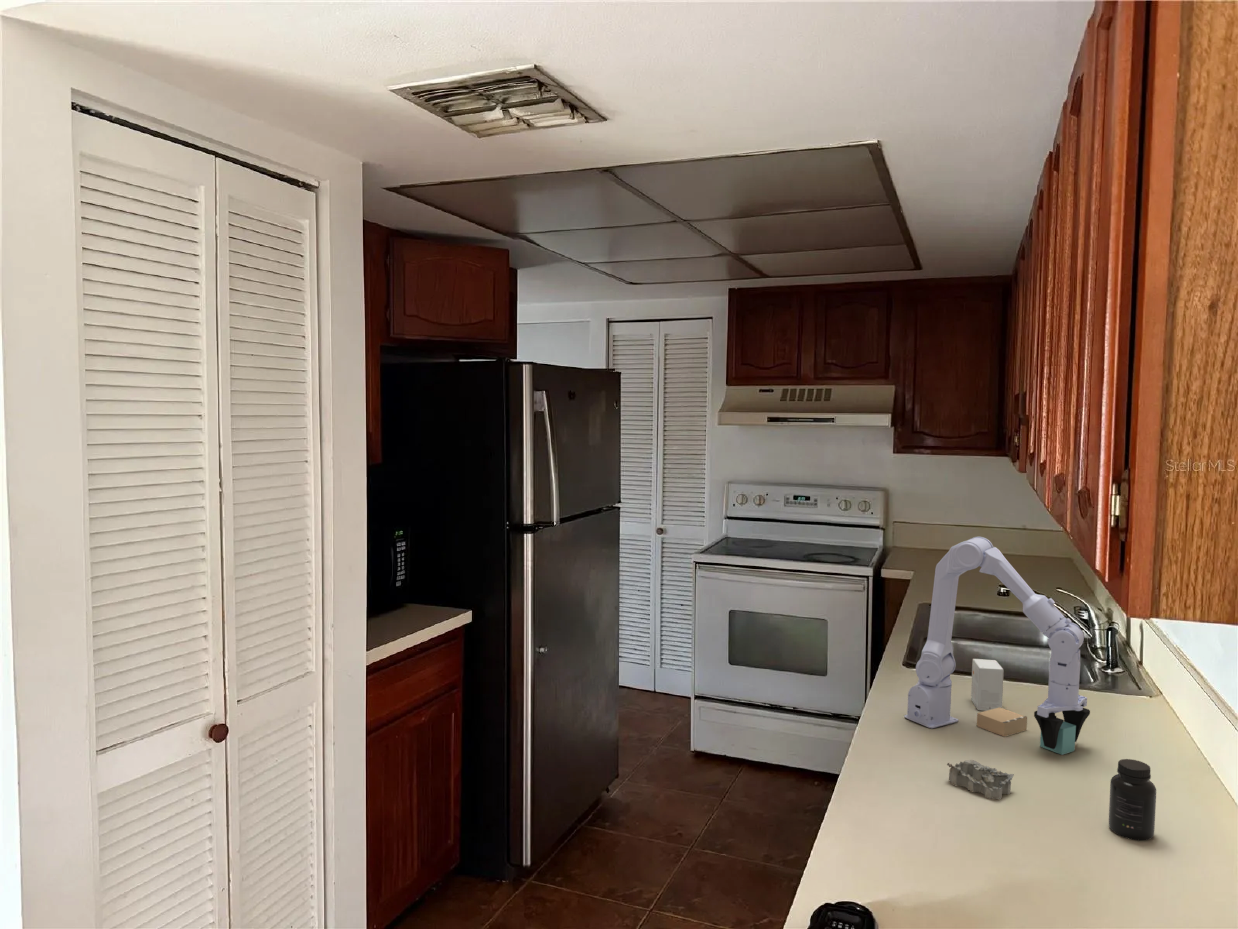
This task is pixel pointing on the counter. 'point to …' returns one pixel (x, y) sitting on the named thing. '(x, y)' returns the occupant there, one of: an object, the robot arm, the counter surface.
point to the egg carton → (980, 778)
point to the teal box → (1063, 739)
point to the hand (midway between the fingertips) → (1060, 743)
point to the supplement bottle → (1132, 801)
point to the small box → (987, 684)
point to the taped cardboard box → (1002, 721)
